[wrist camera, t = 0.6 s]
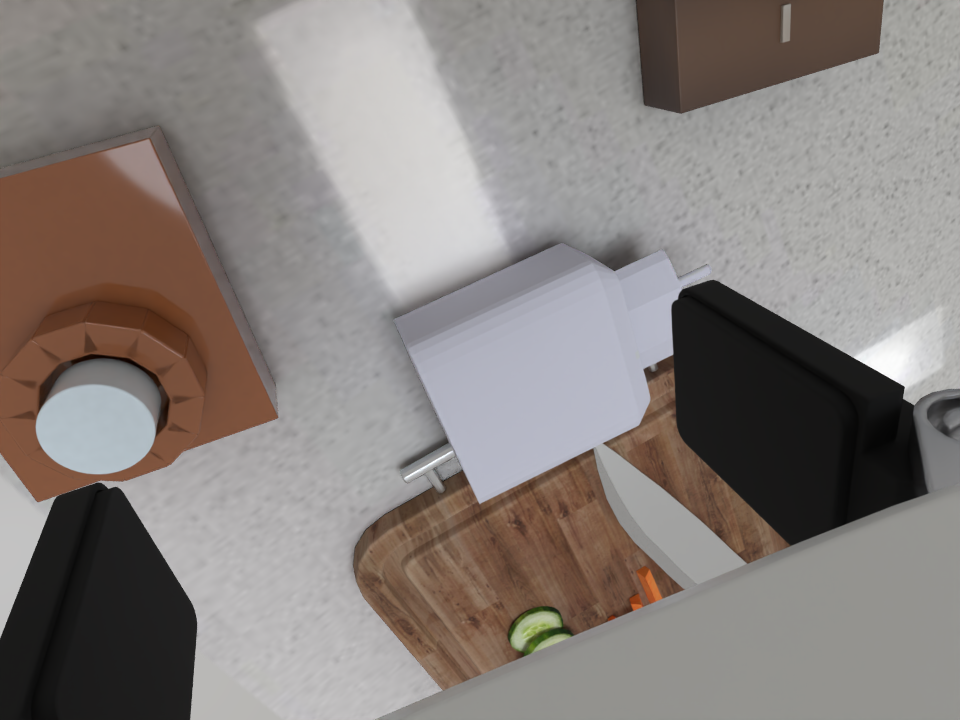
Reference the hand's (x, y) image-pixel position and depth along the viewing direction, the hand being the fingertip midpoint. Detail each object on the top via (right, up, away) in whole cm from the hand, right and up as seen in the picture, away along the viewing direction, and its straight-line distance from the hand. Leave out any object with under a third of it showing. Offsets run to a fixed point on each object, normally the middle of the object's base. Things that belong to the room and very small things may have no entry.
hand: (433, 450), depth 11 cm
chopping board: (+12, -17, +37) cm, 42 cm away
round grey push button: (-13, 0, +13) cm, 18 cm away
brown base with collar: (-15, +4, +16) cm, 22 cm away
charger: (+5, +3, +23) cm, 24 cm away
